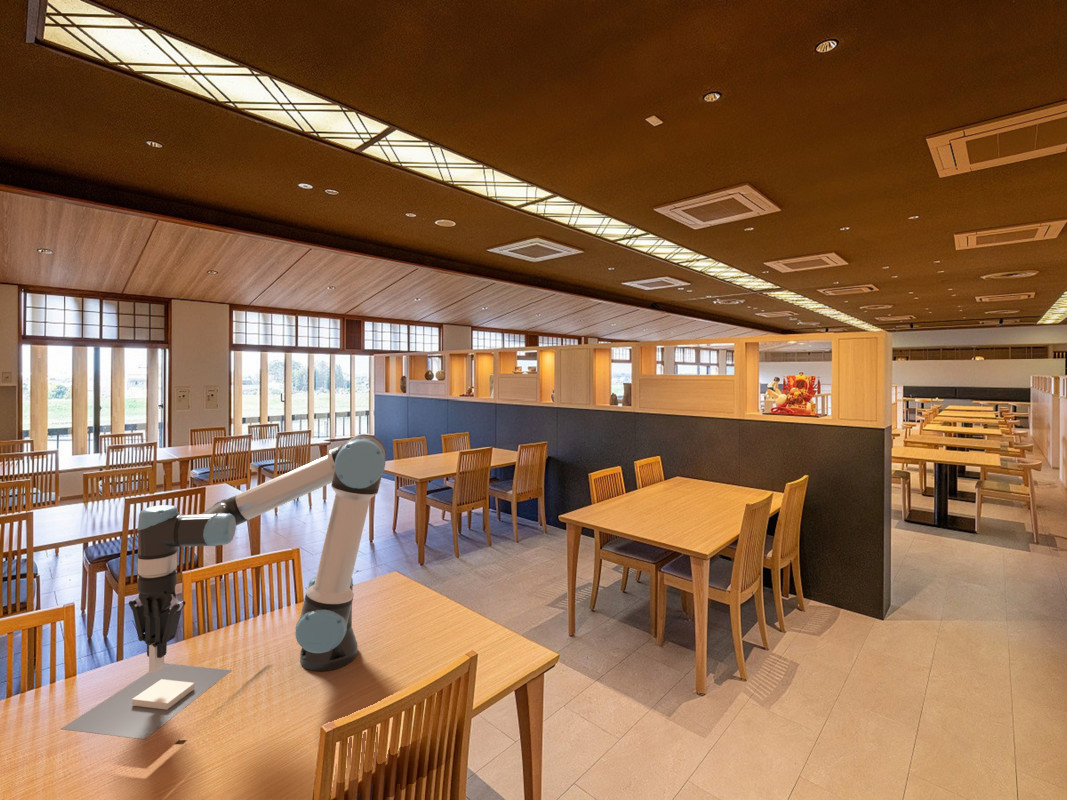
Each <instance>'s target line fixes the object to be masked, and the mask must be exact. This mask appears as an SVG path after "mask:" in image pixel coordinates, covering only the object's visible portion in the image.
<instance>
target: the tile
mask: <svg viewBox="0 0 1067 800" xmlns="http://www.w3.org/2000/svg"><path fill="white" fill-rule="evenodd" d="M194 689H195V683H191V682H182V681H173V680H164V679H161V680H159V681H158V682H156V683H155V684H153V685H152V686H151V687H149V688H148V689H146V690H145V691H143V692H142V693H140V694H139V695H137V696H136V697H134V698H133V699H132V706H141V707H149V708H158V709H166V710H168V709H169V708H170V707H171V706H173V705H174V704H175V703H177V702H178V701H179V700H181V699H182V698H183V697H185V696H186V695H187V694H188V693H190V692H191V691H192V690H194Z"/></svg>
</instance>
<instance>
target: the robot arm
mask: <svg viewBox="0 0 1067 800" xmlns="http://www.w3.org/2000/svg"><path fill="white" fill-rule="evenodd" d="M386 458H387V452H386V447H385V445H384V444H383V442H382V441H381V440H380V439H379V438H378V437H376V436H374V435H371V434H363V433H362V434H357V435H355V436H353V437H351V438H350V439H348V440H347V441H345V442H344V443H341V444H340V445H338V446H336V447H334V448H331V449H329V451H328V454H326V455H325V456H322V457H320V458H317V459H315V460H313V461H310V462H309V463H307V464H304V465H301V466H299V467H297V468H295V469H292V470H291V471H288V472H286V473H283V474H281V475H278V476H276V477H274V478H272V479H270V480H267V481H265V482H262V483H261V484H258V485H256V486H254V487H251V488H249V489H247V490H244V491H242V492H240V493H238V494H236V495H233V496H231V497H229V498H225V499H222V500H219V501H218V502H215V503H214V504H213V505H212V506H211V507H210V508H208V509H207V510H205V511H204V512H202V513H196V514H193V513H192V514H179V510H178V507H177V506H175V505H170V504H161V505H153V506H148V507H146V508H144V509H142V510H141V511H140V512H139V514H138V522H137V529H136V530H137V574H138V576H137V588H136V589H137V592H138V597H136V598H134V599H132V600H130V601H129V602H128V605H129V607H130V609H131V611H132V615H133V619H134V625H135V629H136V630H135V631H136V634H137V639H138V641H140V642H142V641H143V642H144V643H145V644H146V656H147V657H148V672H149V673H155V672H157V671H158V670H160V669H161V668H163V667H164V663H165V656H166V655H167V650H168V649H167V645H168V644H167V643H168V642H171V640H174V639H175V638H176V635H177V631H178V627H179V623H180V622H179V621H180V619H181V614H182V610H183V608H184V607H185V605H186V601H185V600H178V598H177V594H176V592H175V588H176V586H177V584H178V571H177V570H176V569H177V567H178V548H182V547H183V548H185V547H217V546H224V545H229V544H231V542H232V541H233V539H234V537H235V534H236V528H237V526H239V525H242V524H243V523H245V522H247V521H249V520H252V519H254V518H256V517H259V516H261V515H263V514H265V513H267V512H270V511H271V510H274V509H276V508H278V507H280V506H283V505H285V504H288V503H290V502H292V501H294V500H296V499H299V498H301V497H303V496H305V495H307V494H309V493H312V492H314V491H317V490H319V489H320V488H323V487H326V486H328V485H330V484H331V487H330V488H332V490H333V491H334V493H335V496H334V501H333V505H332V509H331V514H330V516H329V522H328V525H327V531H326V534H325V538H324V543H323V546H322V551H321V555H320V560H319V564H318V568H317V573H316V576H313V577H312V578H310V580H308V587H307V589H306V592H305V594H304V596H305V597H304V599H303V602H302V603H303V604H302V609H301V613H300V617H299V620H298V621H297V623H296V626H295V631H294V632H295V639H296V641H297V644H298V645H299V646H300V647H301V648H300V649H301V650H300V654H299V655H300V656H299V663H300V665H301V666H302V667H303V668H305V669H306V670H309V671H316V672H323V671H325V672H326V671H331V670H336V669H338V668H339V669H340V668H341V667H344V666H346V665H348V664H349V663H351V662H352V661H354V659H356V657H357V656H358V648H359V647H358V642H357V638H356V636H355V632H354V629H353V625H352V623H353V622H352V621H353V618H352V617H353V600H354V594H355V593H354V591H353V590H354V589H353V587H354V583H353V581H354V580H353V574H354V570H355V565H356V561H357V556H358V553H359V549H360V544H361V541H362V540H361V539H362V537H363V536H362V535H363V531H364V528H365V523H366V519H367V518H366V517H367V515H368V510H369V506H370V501H371V499H372V498H373V497H375V496H377V495H378V493H379V489H380V484H381V481H382V478H383V477H382V476H383V473H384V471H385V469H386Z"/></svg>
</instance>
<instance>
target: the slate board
mask: <svg viewBox="0 0 1067 800" xmlns="http://www.w3.org/2000/svg"><path fill="white" fill-rule="evenodd" d="M232 671H233V670H231V669H222V668H213V667H205V666H204V667H203V666H194V665H186V664H185V665H183V664H174V663H167V662H164V667H163V668H161V669H160V670H158V671H157V672H155V673H149V671H148V672H146V673H145V674H143V675H142V676H140V677H138V678H137V679H136V680H134V681H133V682H131V683H129V684H128V685H127V686H125V687H123V688H122V689H120V690H119V691H117V692H116V693H114V694H112V695H111V696H110V697H108V698H106V699H104V700H103V701H101V702H100V703H98V704H97V705H95V706H93V708H90V709H89V710H87V711H86V712H84V713H83V714H81V715H79V716H78V717H77V718H75V719H74V720H72V721H70V722H69V723H67V724H66V725H64V726H63V727H61V728H60V730H65V731H73V732H80V733H81V732H82V733H89V734H98V735H107V736H116V737H123V738H131V739H138V740H146V739H147V738H148V737H150V736H151V735H153V734H154V733H155V732H156V731H158V730H159V729H160V728H161V727H162V726H164V725H165V724H166V723H167V722H169V721H170V720H172V719H173V718H174V717H175V716H177V715H178V714H179V713H180V712H182V711H183V710H185V708H186V707H188V706H189V705H190V704H191V703H193V702H194V701H196V699H199V697H200V696H202V695H203V694H204V693H205V692H207V691H208V690H209V689H210V688H212V687H213V686H214V685H215V684H217V683H218V682H219V681H220V680H221V679H223V678H225V676H227V675H229V673H231V672H232ZM161 679H164V680H173V681H182V682H191V683H195V689H194V690H192V691H191V692H190V693H188V694H187V695H186V696H185V697H183V698H182V699H181V700H179V701H178V702H177V703H175V704H174V705H173V706H171V707H170V708H169V709H168V710H166V709H158V708H149V707H141V706H132V699H133V698H134V697H136V696H137V695H139V694H140V693H142V692H143V691H145V690H146V689H148V688H149V687H151V686H152V685H153V684H155V683H156V682H158V681H159V680H161Z"/></svg>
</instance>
